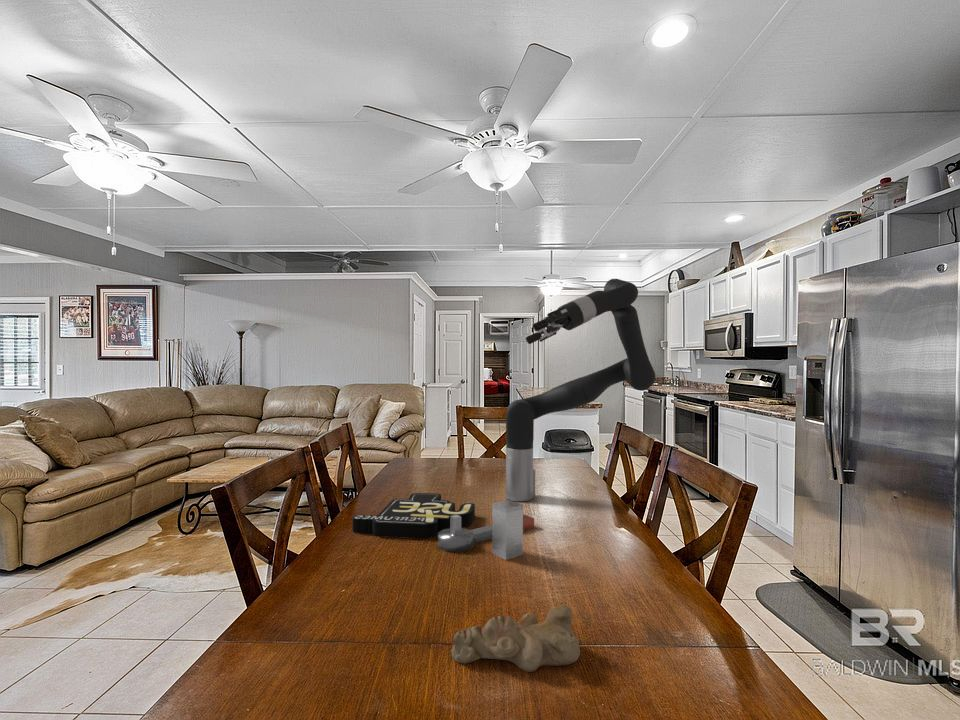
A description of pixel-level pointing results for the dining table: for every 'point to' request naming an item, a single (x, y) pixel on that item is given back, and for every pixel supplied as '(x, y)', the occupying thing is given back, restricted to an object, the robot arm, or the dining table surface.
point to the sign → (414, 517)
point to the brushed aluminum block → (507, 529)
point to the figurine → (521, 641)
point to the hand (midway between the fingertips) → (530, 334)
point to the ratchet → (468, 534)
